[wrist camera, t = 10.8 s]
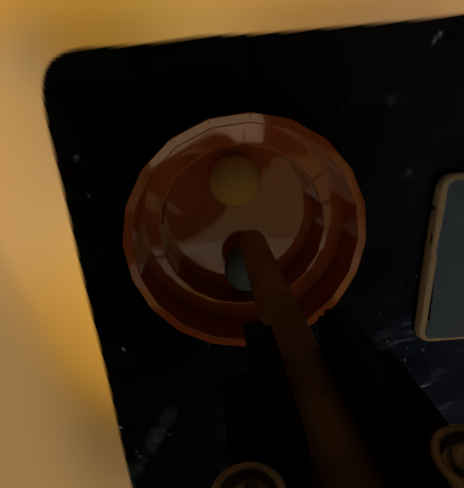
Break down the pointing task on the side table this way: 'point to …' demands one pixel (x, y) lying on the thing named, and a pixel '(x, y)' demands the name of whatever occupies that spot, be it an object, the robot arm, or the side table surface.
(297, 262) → the bowl
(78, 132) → the side table surface
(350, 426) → the stick
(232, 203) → the ball
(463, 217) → the tablet
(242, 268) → the ball
